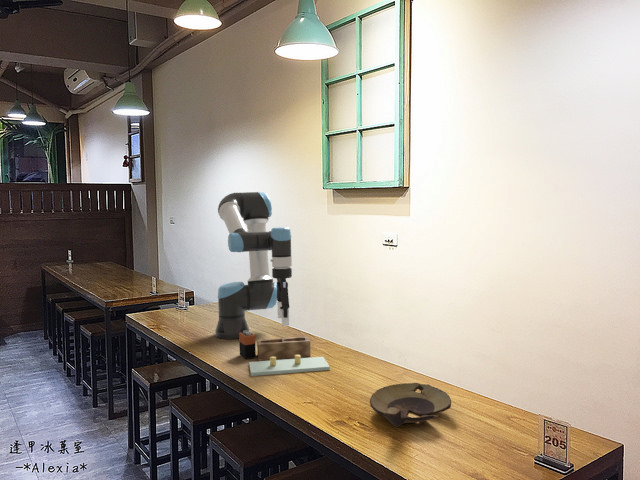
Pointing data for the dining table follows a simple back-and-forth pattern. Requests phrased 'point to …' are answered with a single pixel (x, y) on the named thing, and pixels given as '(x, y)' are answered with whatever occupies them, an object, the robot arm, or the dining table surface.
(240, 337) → the battery
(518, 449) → the dining table surface
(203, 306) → the dining table surface
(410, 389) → the broken dish
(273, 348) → the divided compartment tray
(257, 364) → the board
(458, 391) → the dining table surface
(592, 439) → the dining table surface
